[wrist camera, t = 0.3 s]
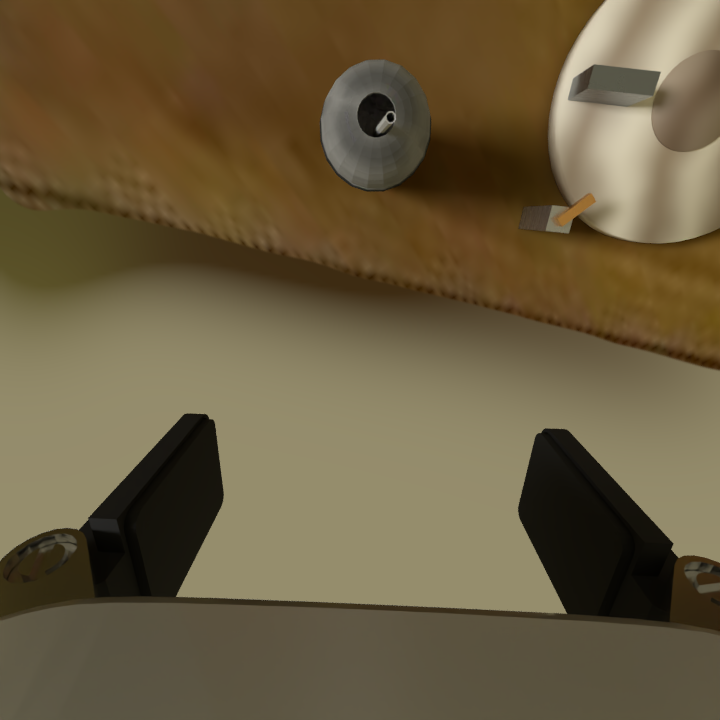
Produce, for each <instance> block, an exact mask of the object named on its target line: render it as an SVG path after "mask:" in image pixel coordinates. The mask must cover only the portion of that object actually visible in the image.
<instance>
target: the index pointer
mask: <svg viewBox="0 0 720 720" xmlns="http://www.w3.org/2000/svg"><path fill="white" fill-rule="evenodd" d="M595 202H596V200H595V198H594V196H593V195H592V193H588V194H586V195H585V196H584V197H582V198H581V199H580V200H578V201H577V202H576V203H574V204H573V205H572V206H570V207H563V206H554V205H549V206H531V207H524V208H523V212H522V216H521V220H520V225H519V229H528V230H537V231H548V232H559V233H569V231H570V228H571V224H572V221H573V218H575V217H576V216H577V215H579V214H580V213H582V212H583V211H584V210H586V209H587V208H588V207H590V206H591V205H592V204H594V203H595Z"/></svg>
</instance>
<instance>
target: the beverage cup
mask: <svg viewBox="0 0 720 720" xmlns="http://www.w3.org/2000/svg"><path fill="white" fill-rule="evenodd" d="M430 134H431V116H430V112H429V108H428V103H427V99H426V96H425V94H424V92H423V90H422V88H421V87H420V85H419V83H418V81H417V80H416V78H415V77H414V76H413V75H411V74H410V73H409V72H408V71H407V70H406V69H405V68H403V67H402V66H400V65H398V64H395V63H392V62H390V61H387V60H366V61H364V62H361V63H359V64H356V65H354V66H352V67H350V68H349V69H348V70H347V71H346V72H344V73H343V74H342V75H341V76H340V77H339V78H338V79H337V80H336V81H335V83H334V85H333V87H332V88H331V90H330V92H329V94H328V96H327V97H326V100H325V102H324V106H323V110H322V115H321V119H320V136H321V144H322V147H323V150H324V153H325V156H326V159H327V161H328V163H329V164H330V166H331V167H332V169H333V170H334V171H335V173H336V174H337V176H339V177H340V178H341V179H343V180H344V181H345V182H346V183H348V184H349V185H350V186H352V187H355V188H358V189H361V190H364V191H385V190H388V189H391V188H393V187H396V186H399V185H400V184H402V183H403V182H404V181H405V180H407V179H408V178H409V177H410V176H412V175H413V174H414V172H415V171H416V170H417V168H418V167H419V165H420V164H421V162H422V161H423V159H424V157H425V154H426V151H427V148H428V145H429V142H430Z"/></svg>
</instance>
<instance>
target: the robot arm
mask: <svg viewBox="0 0 720 720" xmlns="http://www.w3.org/2000/svg"><path fill="white" fill-rule="evenodd" d="M223 496H224V494H223V485H222V477H221V469H220V461H219V453H218V445H217V436H216V428H215V423H214V420H211V419H209V417H208V416H207V415H206V414H184V415H183V416H182V417H181V418H180V420H179V421H178V422H177V423H176V424H175V425H174V426H173V427H172V428H171V429H170V430H169V431H168V432H167V434H166V435H165V436H164V437H163V438H162V439H161V440H160V441H159V442H158V443H157V444H156V446H155V447H154V448H153V449H152V450H151V451H150V452H149V453H148V454H147V455H146V456H145V457H144V458H143V460H142V461H141V462H140V463H139V464H138V465H137V466H136V467H135V468H134V469H133V470H132V471H131V473H130V474H129V475H128V476H127V477H126V478H125V479H124V480H123V481H122V482H121V483H120V484H119V486H117V488H116V489H115V490H114V491H113V492H112V493H111V494H110V495H109V496H108V497H107V498H106V499H105V501H104V502H103V503H102V504H101V505H100V506H99V507H98V508H97V509H96V510H95V511H94V512H93V514H92V515H91V516H90V517H89V518H88V519H89V520H88V521H87V522H86V523H85V524H84V525H83V526H82V527H81V528H80V529H79V530H77V529H71V528H62V529H54V530H51V531H48V532H44V533H41V534H39V535H37V536H34V537H32V538H30V539H28V540H26V541H25V542H23V543H21V544H20V545H18V546H16V547H15V548H14V549H12V550H11V551H10V552H9V553H8V554H6V555H5V556H4V557H3V558H2V559H1V561H0V720H720V563H718V562H716V561H713V560H710V559H707V558H704V557H699V556H682V557H680V558H678V557H677V556H676V555H675V554H674V552H673V551H672V550H671V548H672V546H673V543H672V542H671V541H670V540H669V538H668V537H667V536H666V535H665V534H664V533H663V532H662V531H661V530H660V529H659V528H658V527H657V526H656V524H655V523H654V522H653V521H652V520H651V519H650V518H649V517H648V516H647V515H646V514H645V513H644V512H643V510H641V508H640V507H639V506H638V505H637V504H636V503H635V502H634V501H633V500H632V499H631V498H630V496H629V495H628V494H627V493H626V492H625V491H624V490H623V489H622V488H621V487H620V486H619V485H618V484H617V483H616V481H615V480H614V479H613V478H612V477H611V476H610V475H609V474H608V473H607V472H606V471H605V470H604V469H603V467H602V466H601V465H600V464H599V463H598V462H597V461H596V460H595V459H594V458H593V457H592V456H591V455H590V453H589V452H588V451H587V450H586V449H585V448H584V447H583V446H582V445H581V444H580V443H579V442H578V441H577V440H576V438H575V437H574V436H573V435H572V434H571V433H570V432H569V431H568V430H565V429H544V430H543V431H542V433H538V434H537V435H536V437H535V441H534V445H533V449H532V453H531V457H530V461H529V465H528V469H527V473H526V477H525V482H524V486H523V490H522V494H521V498H520V502H519V507H518V512H519V517H520V520H521V522H522V524H523V526H524V528H525V530H526V532H527V534H528V536H529V538H530V540H531V542H532V544H533V546H534V548H535V550H536V552H537V554H538V556H539V558H540V560H541V562H542V564H543V566H544V568H545V570H546V572H547V574H548V576H549V578H550V580H551V582H552V584H553V586H554V588H555V590H556V592H557V594H558V596H559V598H560V600H561V602H562V604H563V606H564V608H565V610H566V612H567V614H559V613H540V612H539V613H538V612H520V611H518V612H517V611H499V610H480V609H461V608H440V607H418V606H397V605H375V604H352V603H328V602H305V601H278V600H254V599H253V600H251V599H227V598H194V597H191V598H190V597H189V598H188V597H176V595H177V593H178V591H179V589H180V587H181V585H182V583H183V581H184V579H185V577H186V575H187V573H188V571H189V569H190V567H191V565H192V563H193V561H194V559H195V557H196V555H197V553H198V551H199V549H200V547H201V545H202V543H203V541H204V539H205V538H206V536H207V534H208V532H209V530H210V528H211V526H212V524H213V522H214V520H215V518H216V516H217V514H218V512H219V510H220V508H221V506H222V502H223Z"/></svg>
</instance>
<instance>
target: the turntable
mask: <svg viewBox="0 0 720 720" xmlns="http://www.w3.org/2000/svg"><path fill="white" fill-rule="evenodd" d="M548 150H549V157H550V163H551V169H552V172H553V175H554V178H555V182H556V184H557V187H558V189H559V191H560V193H561V195H562V197H563V199H564V200H565V201H566V203H567V204H568V206H569V207H570V206H572V205H573V204H574V203H576V202H577V201H578V200H580V199H581V198H582V197H584V196H585V195H586V194H588V193H592V195H593V196H594V198H595V200H596V202H595V203H594V204H592V205H591V206H590V207H588V208H587V209H586V210H584V211H583V212H582V213H580V214H579V215H577V216H578V217H579V218H580V219H581V220H582V221H583V222H584V223H586V224H587V225H588V226H590V227H591V228H593V229H594V230H596V231H598V232H600V233H602V234H604V235H607V236H610V237H613V238H616V239H620V240H626V241H631V242H641V243H671V242H679V241H683V240H688V239H692V238H696V237H698V236H701V235H704V234H707V233H710V232H712V231H714V230H716V229H719V228H720V0H605V1H604V2H603V3H602V4H601V5H600V7H599V8H598V9H597V10H596V11H595V13H594V14H593V15H592V16H591V18H590V19H589V20H588V22H587V23H586V25H585V26H584V28H583V29H582V31H581V32H580V34H579V35H578V37H577V39H576V41H575V42H574V44H573V46H572V48H571V50H570V52H569V54H568V55H567V58H566V60H565V62H564V65H563V67H562V70H561V72H560V75H559V77H558V81H557V84H556V87H555V91H554V94H553V98H552V103H551V109H550V114H549V125H548Z"/></svg>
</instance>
